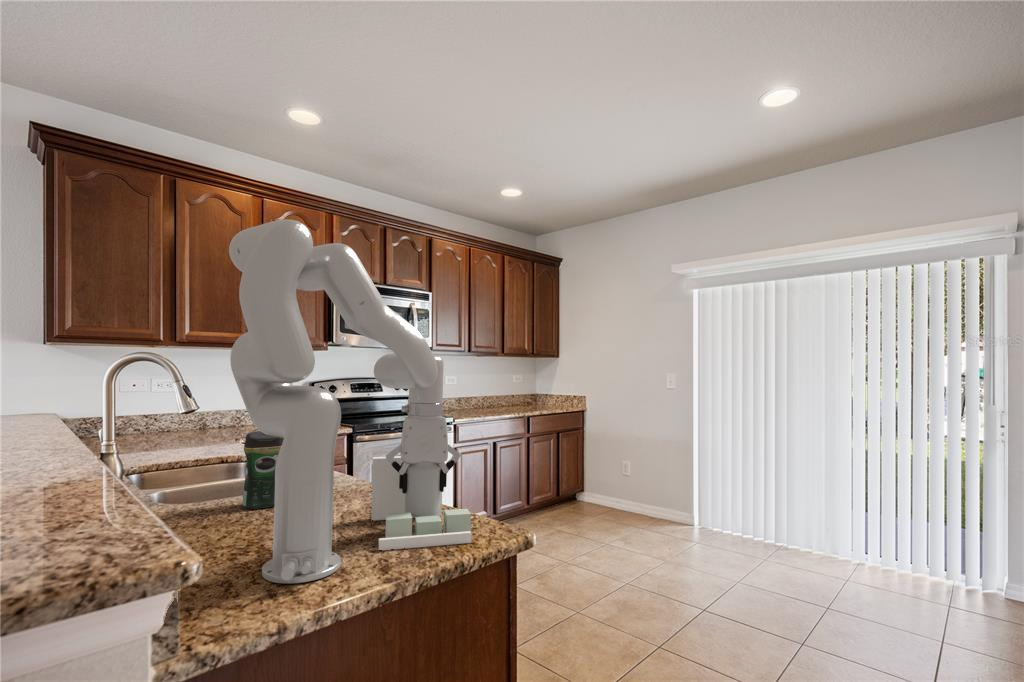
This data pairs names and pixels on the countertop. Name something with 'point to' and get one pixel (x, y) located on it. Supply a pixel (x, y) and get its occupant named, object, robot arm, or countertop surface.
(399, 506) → the rack
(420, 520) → the offcut mid
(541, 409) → the countertop surface
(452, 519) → the offcut
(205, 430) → the countertop surface
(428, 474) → the can
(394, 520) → the offcut
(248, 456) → the coffee jar
